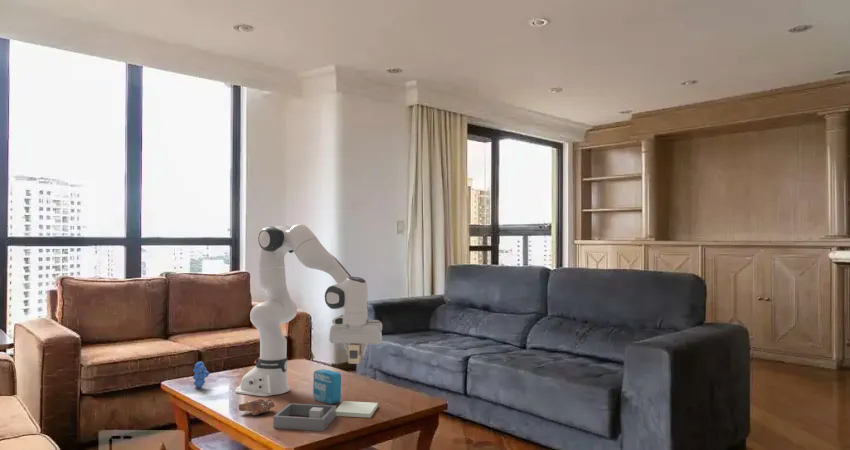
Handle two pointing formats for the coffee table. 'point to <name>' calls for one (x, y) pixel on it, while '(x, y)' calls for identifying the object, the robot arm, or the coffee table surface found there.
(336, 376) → the data package
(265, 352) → the robot arm
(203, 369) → the grapes
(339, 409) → the board
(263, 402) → the mineral specimen
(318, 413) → the grey box
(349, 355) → the birch box
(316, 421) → the bin
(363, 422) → the coffee table surface
